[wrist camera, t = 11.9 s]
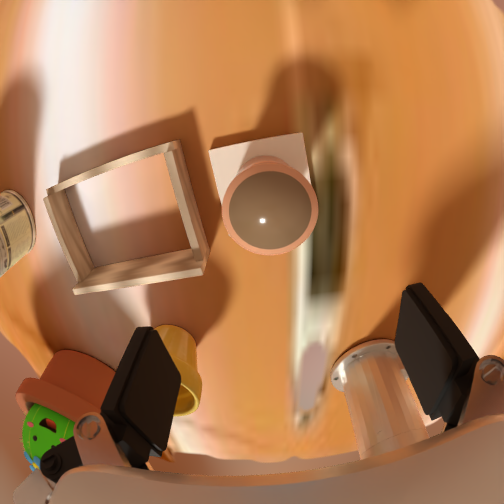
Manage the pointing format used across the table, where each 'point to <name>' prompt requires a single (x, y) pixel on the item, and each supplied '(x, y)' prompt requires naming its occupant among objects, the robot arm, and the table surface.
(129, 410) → the robot arm
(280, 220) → the terracotta pot
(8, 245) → the coffee can
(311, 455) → the table surface
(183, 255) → the frame
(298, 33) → the table surface
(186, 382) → the plant pot
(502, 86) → the table surface
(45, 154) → the table surface
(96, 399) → the potted cactus
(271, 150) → the stone tile
